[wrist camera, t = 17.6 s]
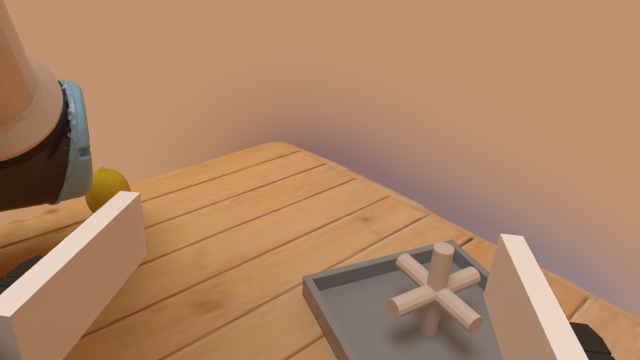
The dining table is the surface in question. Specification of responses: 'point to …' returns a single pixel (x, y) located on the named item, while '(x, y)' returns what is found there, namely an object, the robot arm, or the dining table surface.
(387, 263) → the tray
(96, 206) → the lemon
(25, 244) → the dining table surface
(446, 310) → the pipe connector
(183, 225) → the dining table surface
